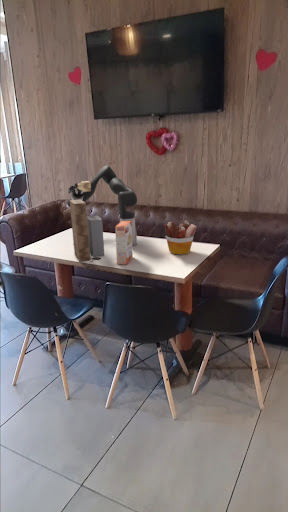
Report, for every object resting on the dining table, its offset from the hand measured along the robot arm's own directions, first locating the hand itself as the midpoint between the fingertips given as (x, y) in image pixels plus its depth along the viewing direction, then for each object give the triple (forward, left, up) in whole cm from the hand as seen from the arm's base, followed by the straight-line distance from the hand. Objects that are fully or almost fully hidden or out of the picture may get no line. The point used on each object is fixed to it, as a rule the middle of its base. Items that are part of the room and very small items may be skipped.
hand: (80, 183), depth 219 cm
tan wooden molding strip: (0, +7, -3) cm, 7 cm away
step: (-2, +22, -39) cm, 44 cm away
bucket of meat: (-46, +41, -39) cm, 73 cm away
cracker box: (-13, +41, -39) cm, 58 cm away
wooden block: (+7, +25, -39) cm, 46 cm away
